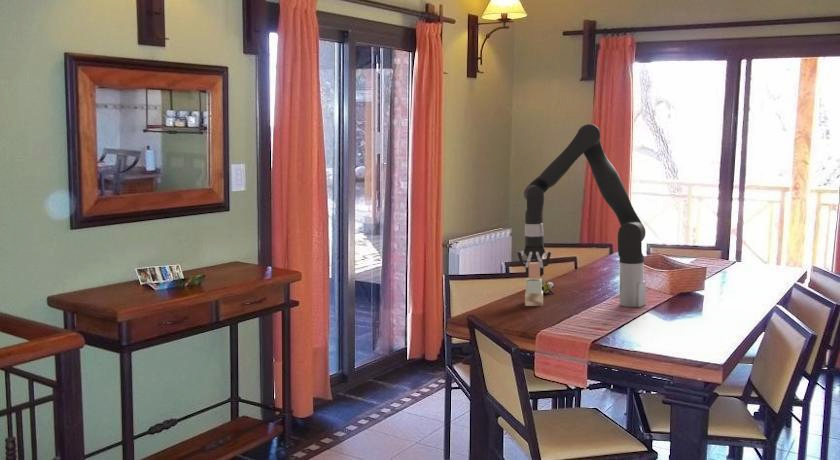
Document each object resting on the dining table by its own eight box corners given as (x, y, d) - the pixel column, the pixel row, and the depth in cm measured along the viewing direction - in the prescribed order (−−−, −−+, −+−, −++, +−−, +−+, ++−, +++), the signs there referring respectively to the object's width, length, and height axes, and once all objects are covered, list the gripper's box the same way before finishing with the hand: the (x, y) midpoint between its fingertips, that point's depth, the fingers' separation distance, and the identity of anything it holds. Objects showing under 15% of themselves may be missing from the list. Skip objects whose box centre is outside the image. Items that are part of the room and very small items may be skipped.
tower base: (543, 302, 321) (543, 290, 320) (542, 306, 314) (542, 294, 314) (525, 302, 322) (525, 290, 322) (525, 306, 316) (524, 293, 315)
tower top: (541, 290, 320) (541, 278, 320) (541, 293, 314) (541, 281, 314) (527, 290, 321) (526, 278, 321) (526, 293, 315) (526, 281, 315)
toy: (549, 292, 326) (563, 287, 339) (536, 280, 329) (550, 275, 342) (540, 304, 329) (553, 298, 342) (527, 292, 332) (541, 287, 344)
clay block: (540, 276, 319) (540, 262, 319) (540, 278, 315) (539, 264, 314) (529, 276, 320) (529, 262, 320) (528, 278, 316) (528, 264, 315)
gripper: (552, 233, 318) (552, 274, 320) (517, 233, 321) (517, 274, 323) (551, 235, 310) (552, 278, 312) (515, 235, 313) (516, 277, 315)
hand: (534, 276), depth 317 cm, fingers closed on clay block, 4 cm apart
